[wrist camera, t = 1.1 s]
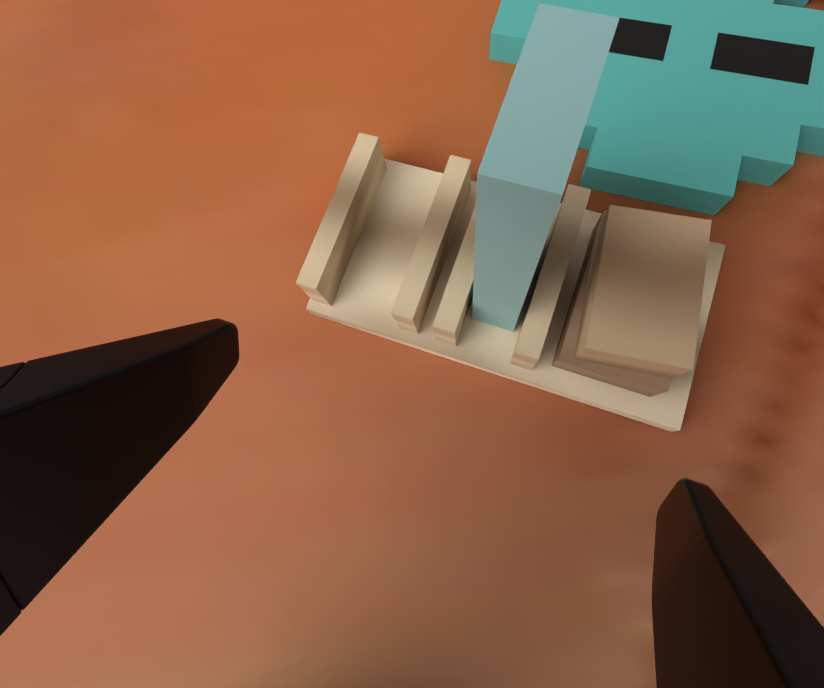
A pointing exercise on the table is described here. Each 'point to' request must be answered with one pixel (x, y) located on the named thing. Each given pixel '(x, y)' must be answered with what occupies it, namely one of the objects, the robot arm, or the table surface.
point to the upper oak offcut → (644, 292)
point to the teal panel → (533, 154)
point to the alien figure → (694, 94)
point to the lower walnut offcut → (603, 373)
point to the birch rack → (462, 279)
